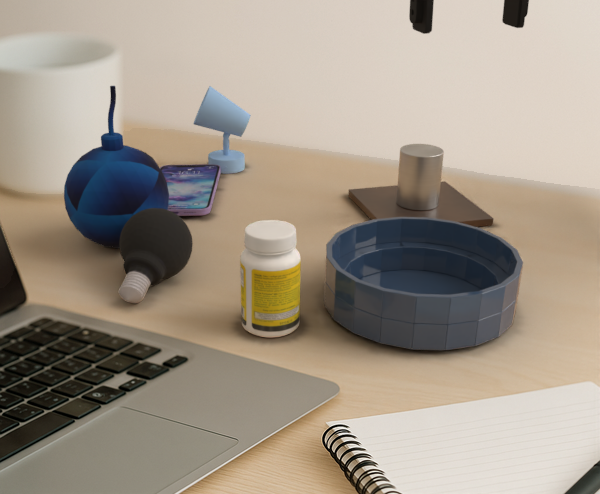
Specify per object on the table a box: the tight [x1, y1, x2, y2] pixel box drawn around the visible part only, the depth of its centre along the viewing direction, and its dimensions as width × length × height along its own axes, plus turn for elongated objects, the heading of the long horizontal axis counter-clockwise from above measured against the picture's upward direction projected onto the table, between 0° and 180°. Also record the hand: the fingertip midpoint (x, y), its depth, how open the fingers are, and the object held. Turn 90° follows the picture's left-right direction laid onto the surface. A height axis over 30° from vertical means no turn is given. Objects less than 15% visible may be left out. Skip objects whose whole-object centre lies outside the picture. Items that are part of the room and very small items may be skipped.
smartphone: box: [159, 163, 222, 217], centre depth 94 cm, size 7×1×15 cm
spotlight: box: [192, 85, 252, 175], centre depth 100 cm, size 5×10×7 cm
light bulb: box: [118, 208, 194, 304], centre depth 72 cm, size 6×6×10 cm
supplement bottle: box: [239, 219, 302, 338], centre depth 65 cm, size 5×5×8 cm
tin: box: [396, 143, 445, 210], centre depth 89 cm, size 5×5×6 cm
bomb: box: [63, 85, 169, 249], centre depth 78 cm, size 10×11×15 cm
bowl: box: [324, 217, 524, 351], centre depth 70 cm, size 16×16×5 cm
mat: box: [347, 180, 494, 228], centre depth 91 cm, size 12×12×1 cm
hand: (467, 28), depth 80 cm, fingers open, 9 cm apart
